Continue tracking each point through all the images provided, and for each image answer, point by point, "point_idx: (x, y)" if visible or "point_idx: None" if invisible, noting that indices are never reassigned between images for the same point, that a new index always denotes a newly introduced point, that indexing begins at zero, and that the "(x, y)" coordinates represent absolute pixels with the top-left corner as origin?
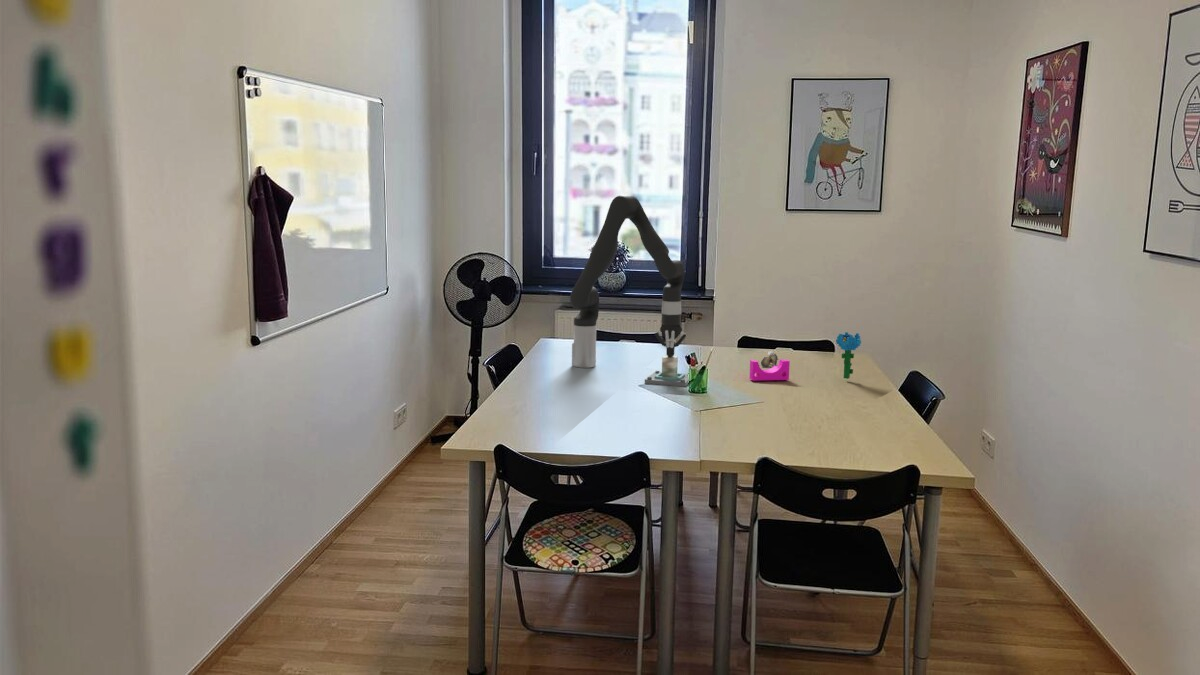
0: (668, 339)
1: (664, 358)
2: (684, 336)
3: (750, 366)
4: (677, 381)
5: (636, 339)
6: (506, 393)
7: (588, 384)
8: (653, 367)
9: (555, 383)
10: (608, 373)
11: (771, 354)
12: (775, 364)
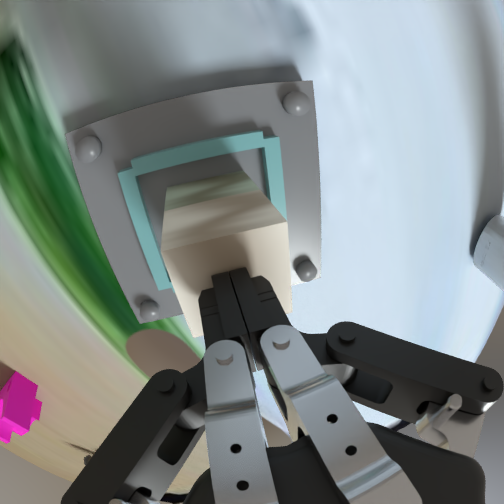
0: (305, 417)
1: (262, 223)
2: (72, 501)
3: (27, 412)
4: (116, 130)
5: None
6: None
7: (455, 19)
8: None
9: (499, 29)
10: (449, 212)
11: None
12: (87, 457)
